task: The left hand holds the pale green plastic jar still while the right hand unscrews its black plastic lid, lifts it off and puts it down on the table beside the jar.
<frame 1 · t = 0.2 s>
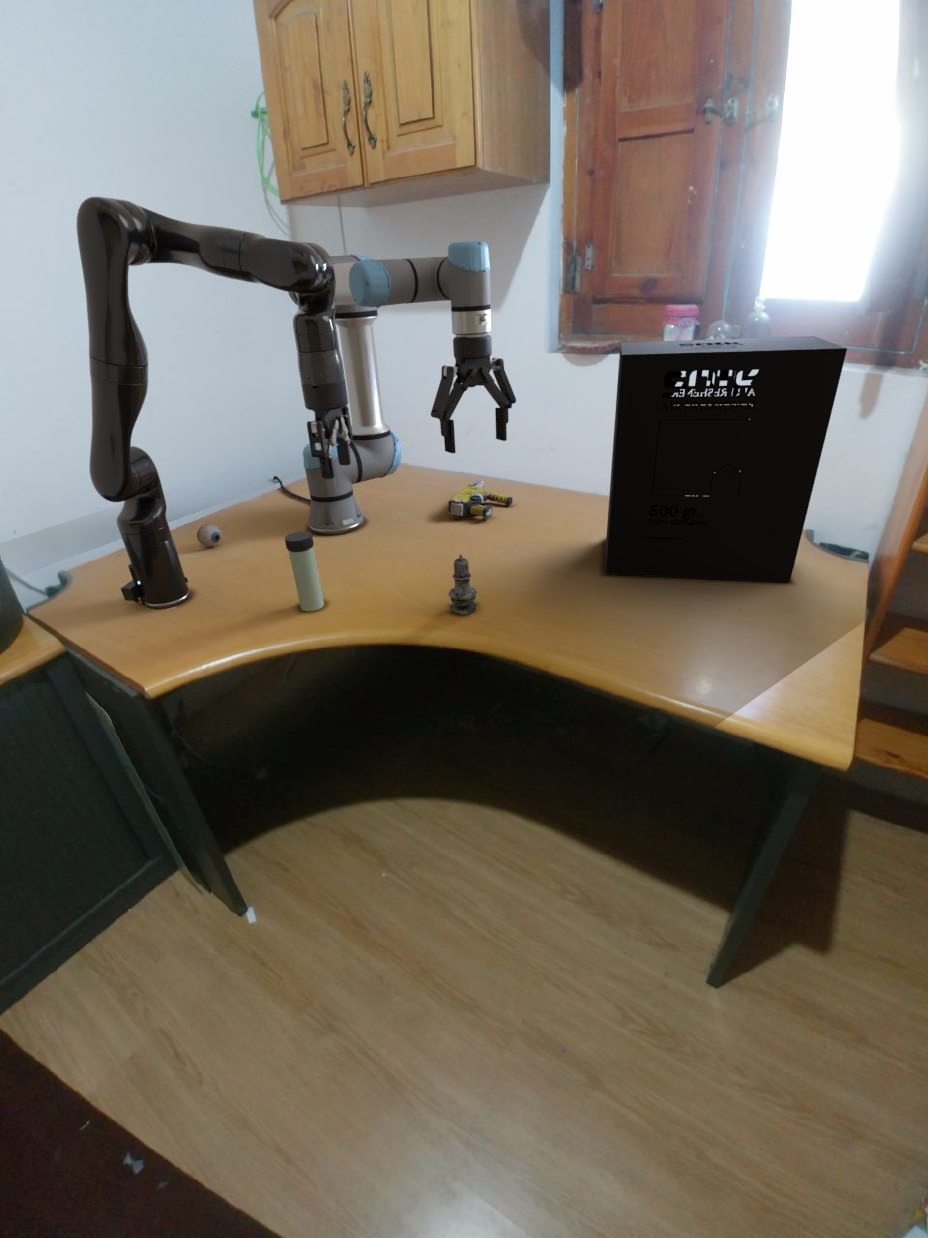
left hand: (337, 471, 112), 29 cm above the table, tool pointing down, fingers open, 8 cm apart
right hand: (476, 445, 127), 28 cm above the table, tool pointing down, fingers open, 13 cm apart
toy gun: (485, 507, 176), on the table
dark grey turned figure: (463, 608, 124), on the table
eyeball: (212, 546, 160), on the table
cardboard box: (689, 559, 139), on the table
lid: (298, 537, 121), point 16 cm above the table, screwed on, not yet turned
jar: (312, 606, 128), on the table
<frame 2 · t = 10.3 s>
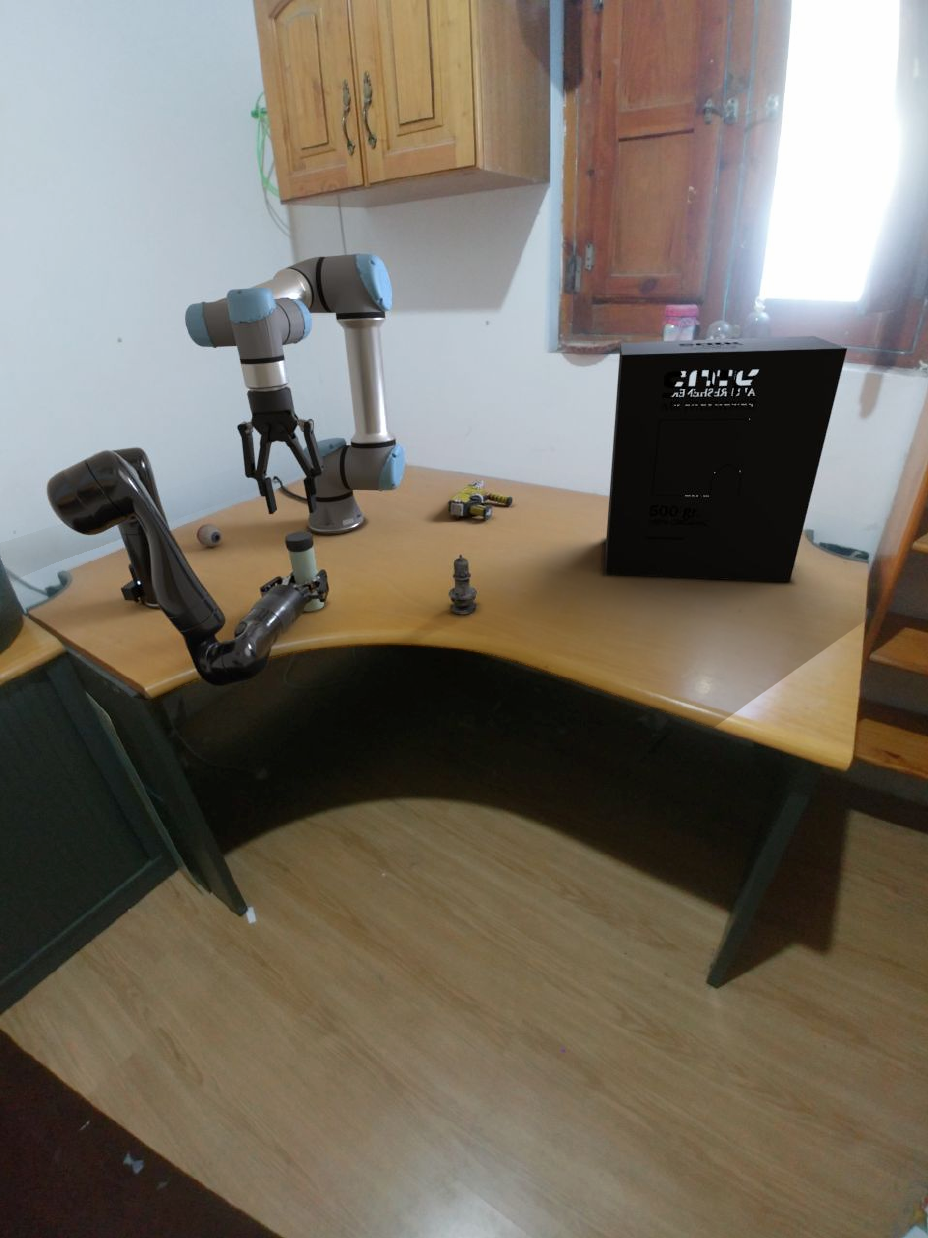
left hand: (311, 573, 127), 7 cm above the table, tool horizontal, fingers closed on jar, 5 cm apart
right hand: (293, 511, 118), 21 cm above the table, tool pointing down, fingers open, 7 cm apart
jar: (312, 606, 128), on the table, touching left hand
everything else where it was.
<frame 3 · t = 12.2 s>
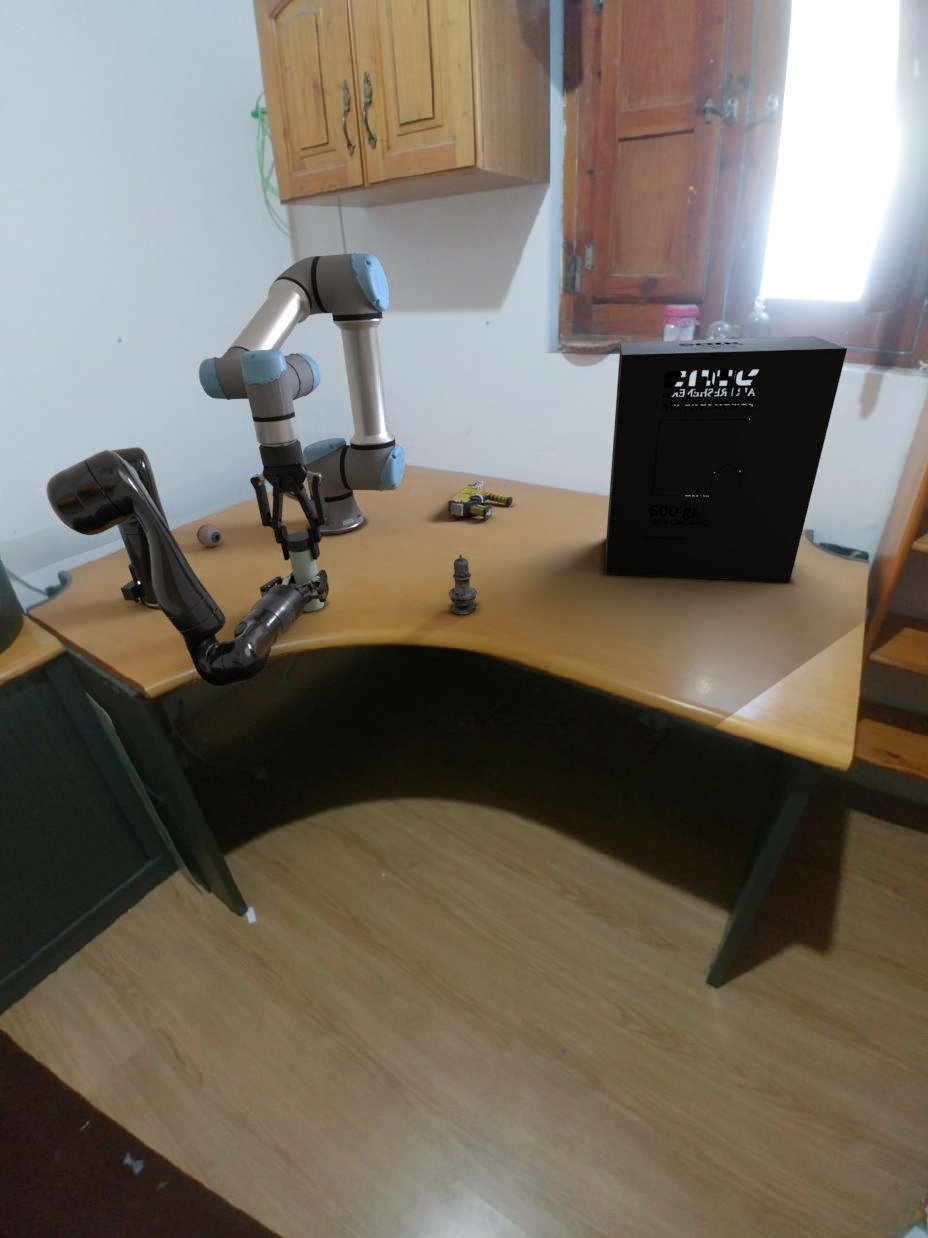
left hand: (311, 573, 127), 7 cm above the table, tool horizontal, fingers closed on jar, 5 cm apart
right hand: (302, 556, 123), 11 cm above the table, tool pointing down, fingers closed on lid, 5 cm apart
lid: (298, 537, 121), point 16 cm above the table, screwed on, not yet turned, touching right hand
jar: (312, 606, 128), on the table, touching left hand
everything else where it was.
when the right hand's fingers open (12 cm above the table, at t = 13.5 s): lid stays where it is, point 16 cm above the table.
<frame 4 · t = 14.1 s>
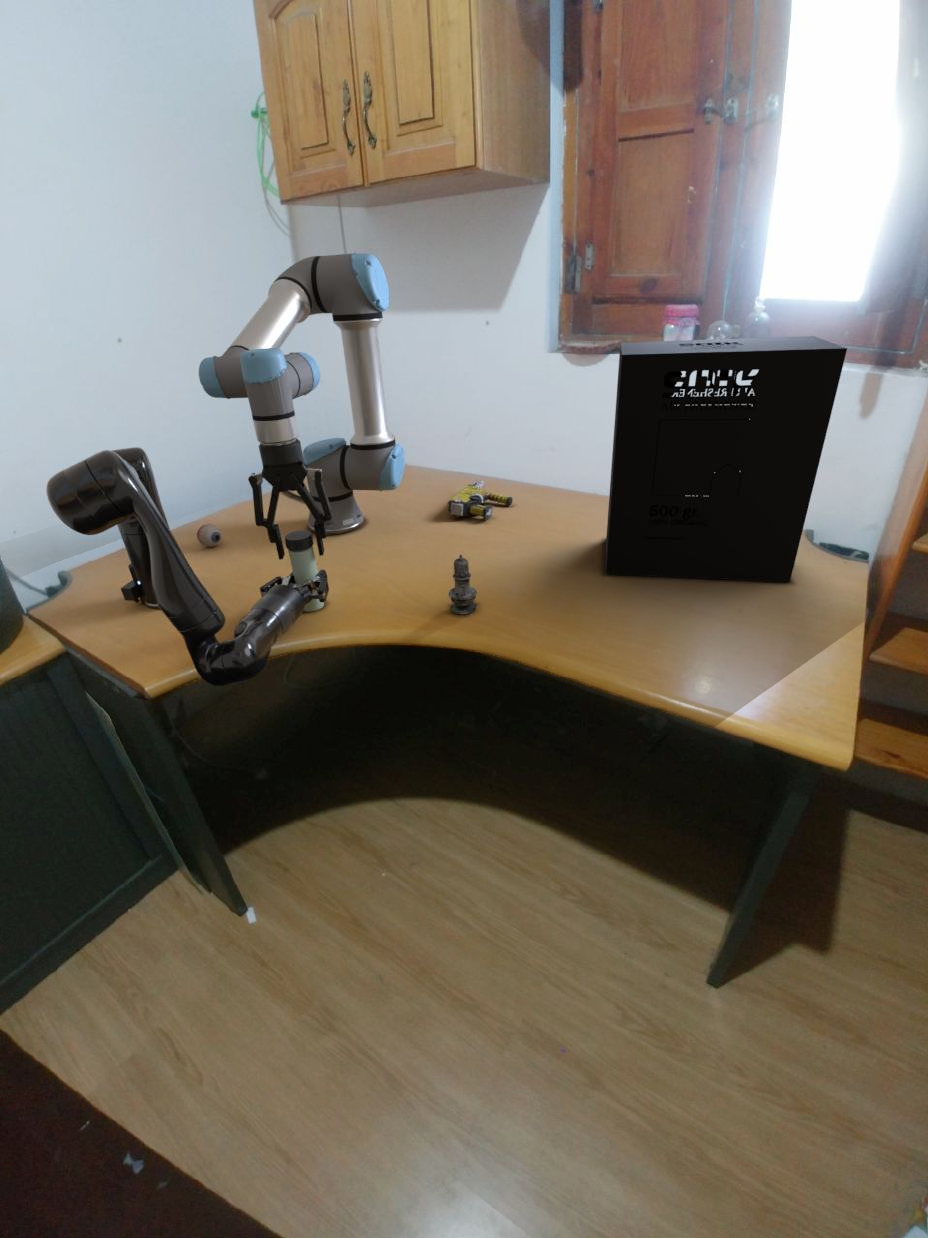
left hand: (311, 573, 127), 7 cm above the table, tool horizontal, fingers closed on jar, 5 cm apart
right hand: (301, 554, 122), 12 cm above the table, tool pointing down, fingers open, 7 cm apart
lid: (298, 536, 120), point 16 cm above the table, turned 76° so far, risen 0.2 cm, still on its thread
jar: (312, 606, 128), on the table, touching left hand
everything else where it was.
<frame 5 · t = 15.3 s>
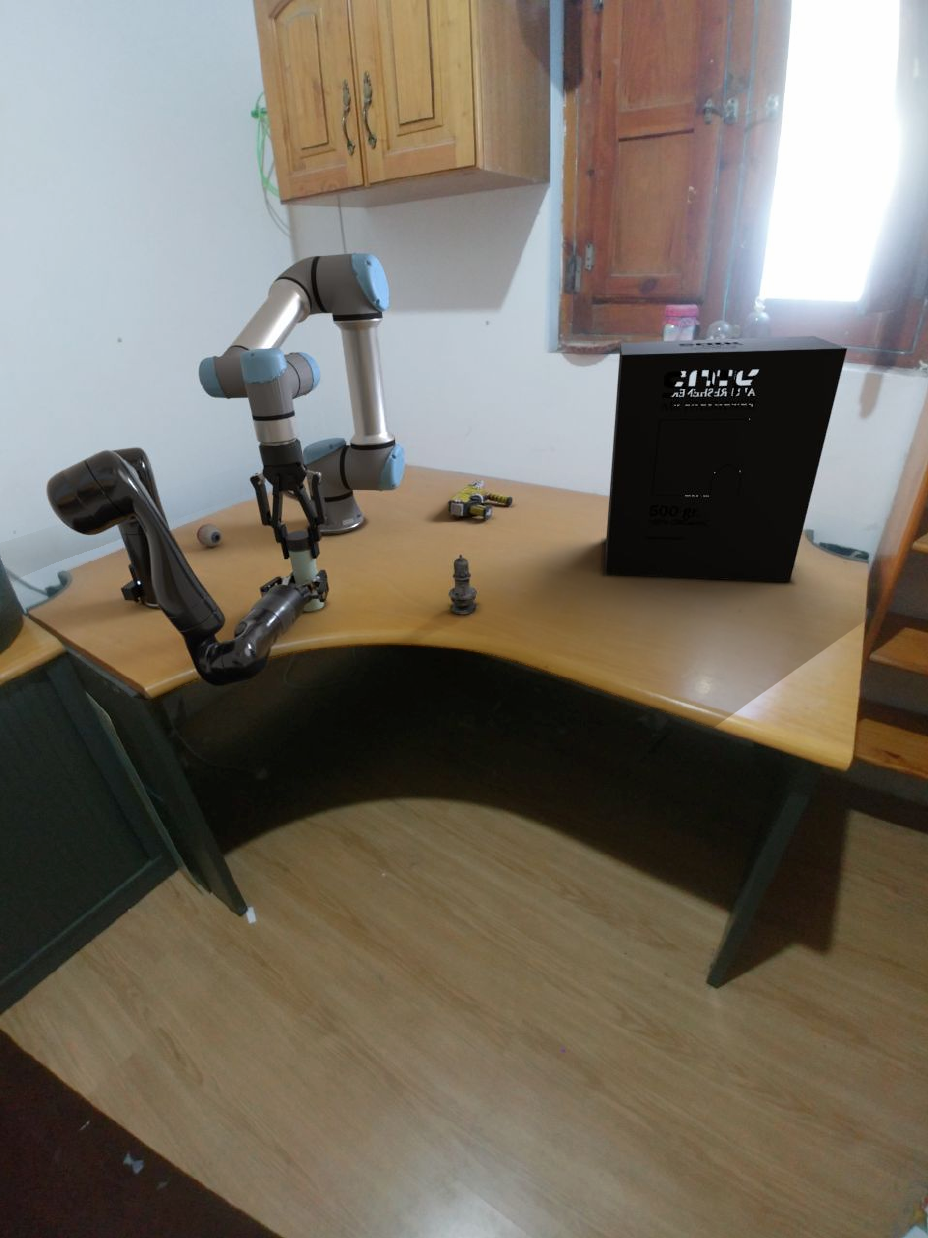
left hand: (311, 573, 127), 7 cm above the table, tool horizontal, fingers closed on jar, 5 cm apart
right hand: (302, 556, 123), 12 cm above the table, tool pointing down, fingers closed on lid, 5 cm apart
lid: (298, 536, 120), point 16 cm above the table, turned 76° so far, risen 0.2 cm, still on its thread, touching right hand
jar: (312, 606, 128), on the table, touching left hand
everything else where it was.
when the right hand's fingers open (0 cm above the table, at t = 20.4 s): lid drops 2 cm, point 2 cm above the table.
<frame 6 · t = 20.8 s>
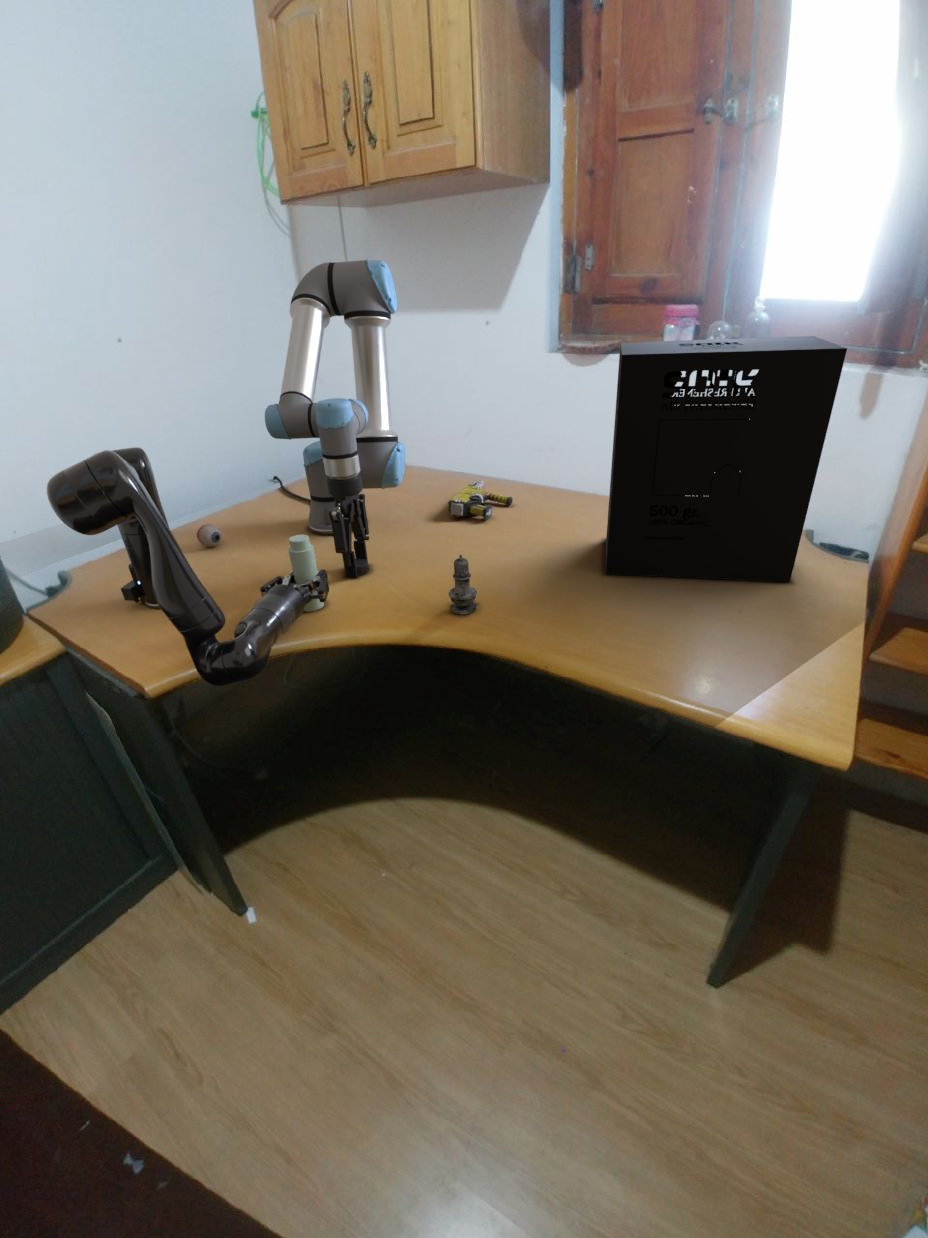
left hand: (311, 573, 127), 7 cm above the table, tool horizontal, fingers closed on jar, 5 cm apart
right hand: (357, 571, 142), 0 cm above the table, tool pointing down, fingers open, 5 cm apart
lid: (356, 564, 141), point 2 cm above the table, off its thread
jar: (312, 605, 128), on the table, touching left hand
everything else where it was.
when the left hand's fingers open (7 cm above the table, at t = 22.1 s): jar stays where it is, on the table.
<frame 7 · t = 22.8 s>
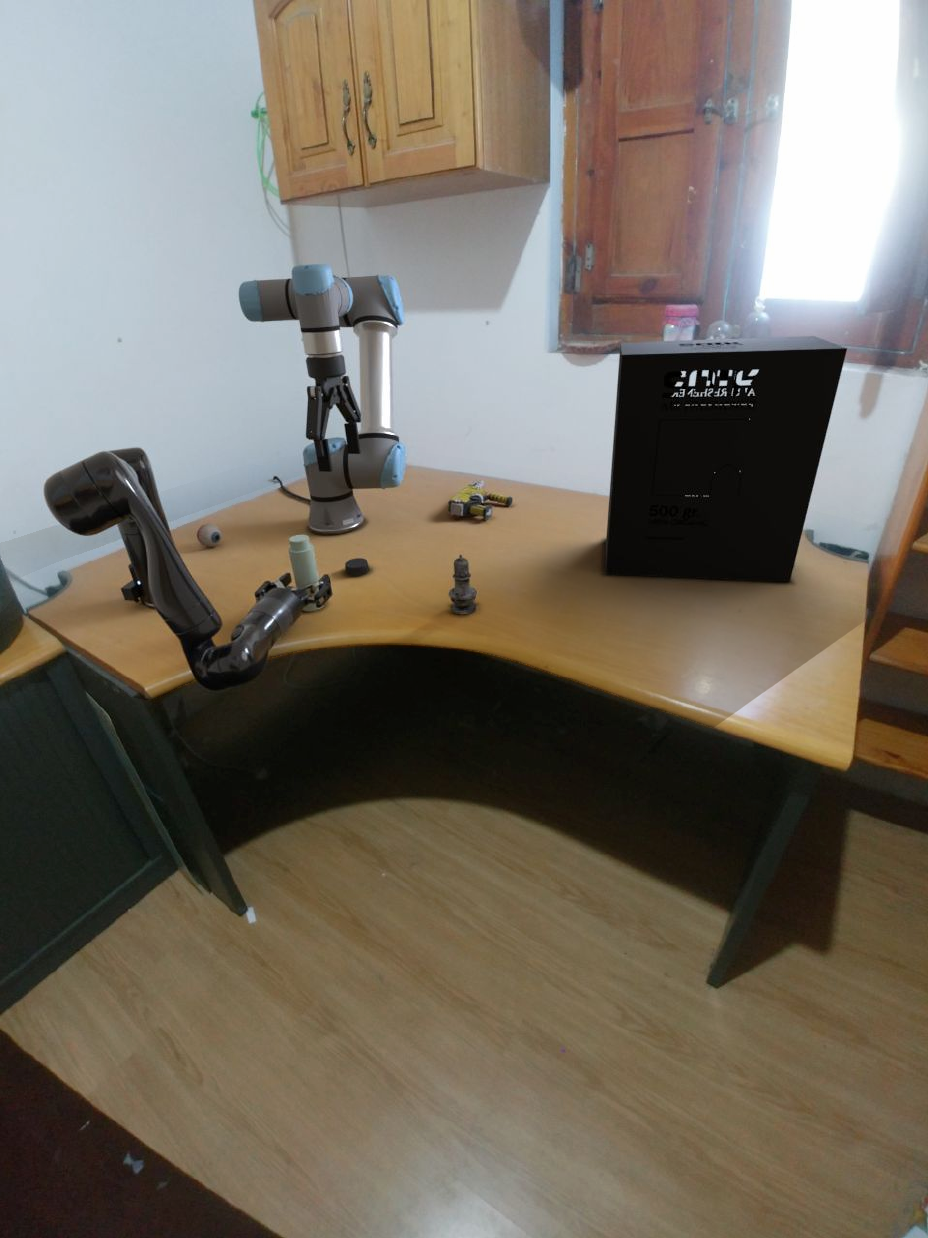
left hand: (308, 577, 126), 6 cm above the table, tool horizontal, fingers open, 8 cm apart
right hand: (340, 462, 130), 26 cm above the table, tool pointing down, fingers open, 13 cm apart
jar: (312, 606, 128), on the table
everything else where it was.
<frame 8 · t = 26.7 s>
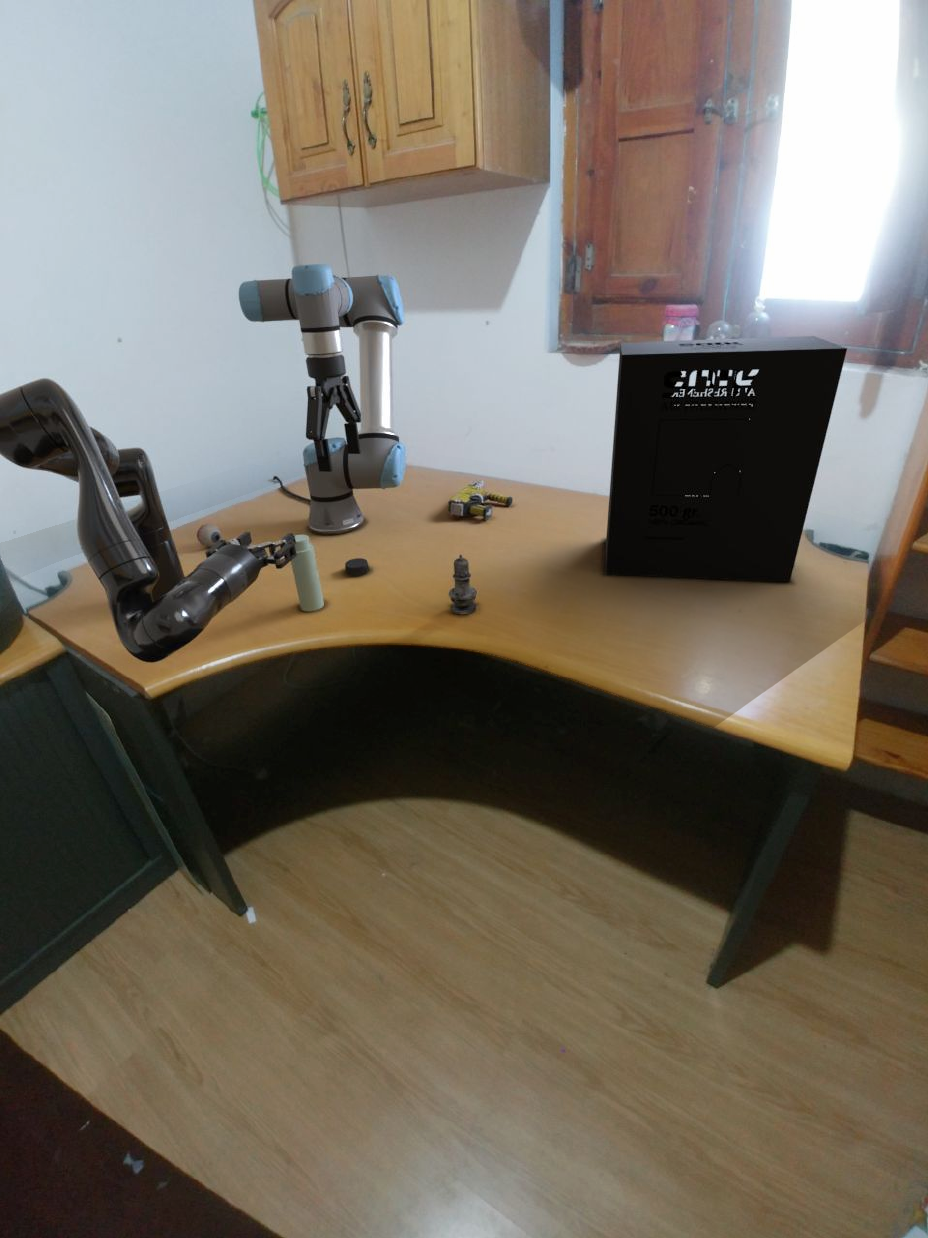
left hand: (270, 537, 110), 20 cm above the table, tool horizontal, fingers open, 8 cm apart
right hand: (340, 462, 130), 26 cm above the table, tool pointing down, fingers open, 13 cm apart
nothing on the table moved.
at the end: lid came off its thread; lid point 1.9 cm above the table; the left hand is holding nothing; the right hand is holding nothing; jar tilted 0°; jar moved 0.0 cm from its start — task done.
